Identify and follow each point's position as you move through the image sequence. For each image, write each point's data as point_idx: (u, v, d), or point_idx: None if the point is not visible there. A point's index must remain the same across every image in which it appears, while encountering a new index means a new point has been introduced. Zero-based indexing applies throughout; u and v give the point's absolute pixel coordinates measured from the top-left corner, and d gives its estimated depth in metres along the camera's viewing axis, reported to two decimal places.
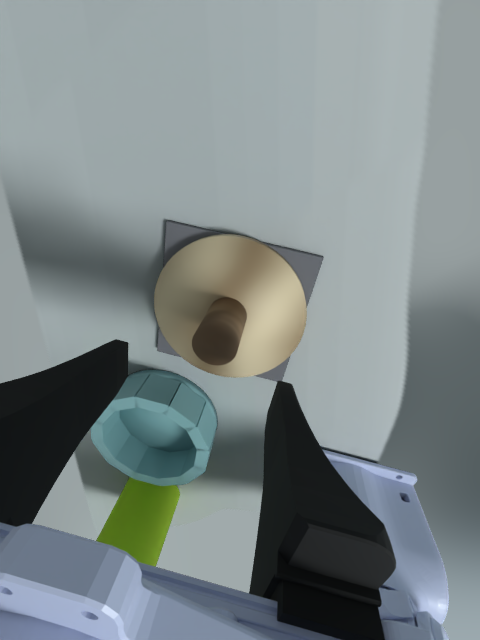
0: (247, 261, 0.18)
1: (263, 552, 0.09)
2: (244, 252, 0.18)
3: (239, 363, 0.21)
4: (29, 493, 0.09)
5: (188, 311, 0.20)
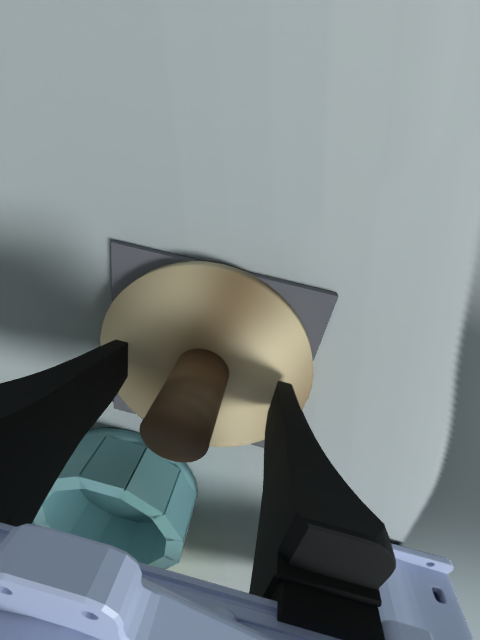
0: (227, 301, 0.12)
1: (263, 552, 0.09)
2: (222, 289, 0.12)
3: (221, 430, 0.16)
4: (29, 493, 0.09)
5: (148, 364, 0.14)
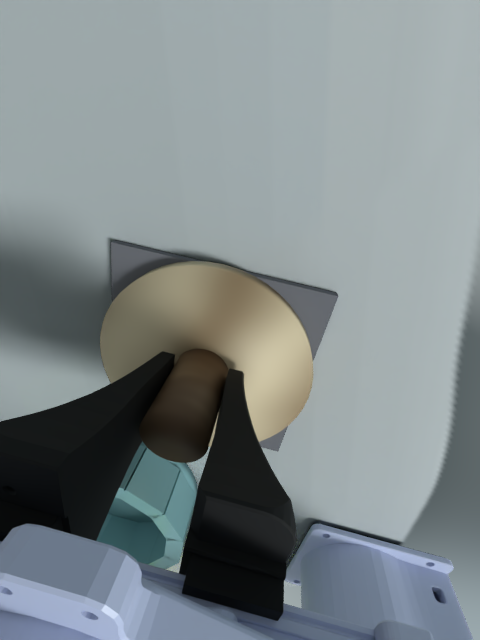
0: (227, 301, 0.12)
1: None
2: (222, 289, 0.12)
3: None
4: (97, 512, 0.09)
5: None
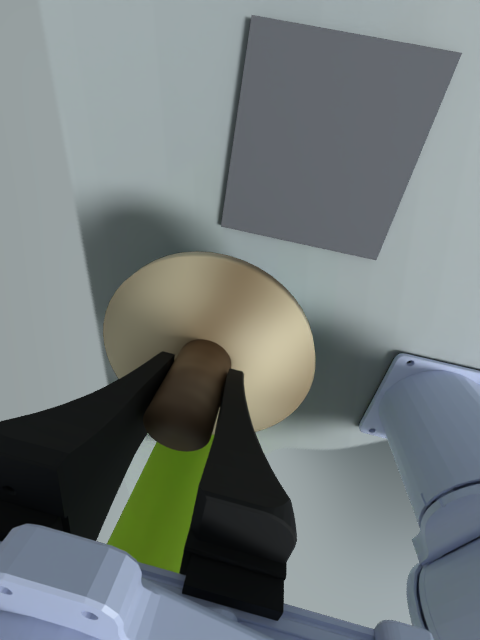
0: (231, 293, 0.12)
1: None
2: (226, 280, 0.12)
3: None
4: (97, 512, 0.09)
5: (151, 354, 0.15)
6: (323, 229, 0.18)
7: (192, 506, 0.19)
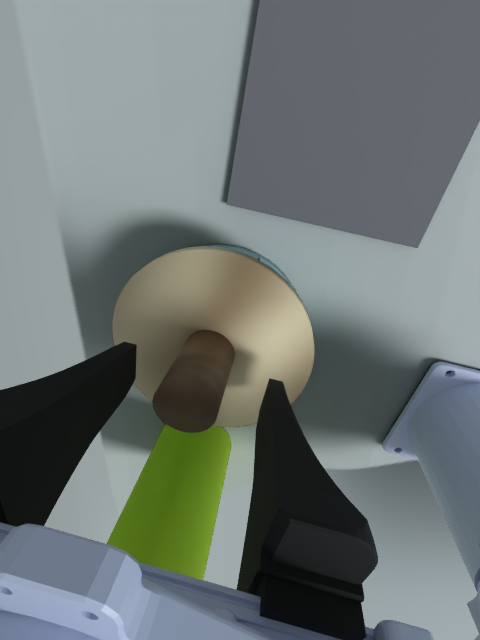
0: (235, 284, 0.13)
1: (250, 548, 0.09)
2: (231, 272, 0.13)
3: (224, 411, 0.17)
4: (41, 496, 0.09)
5: (157, 345, 0.15)
6: (353, 208, 0.14)
7: (187, 546, 0.16)
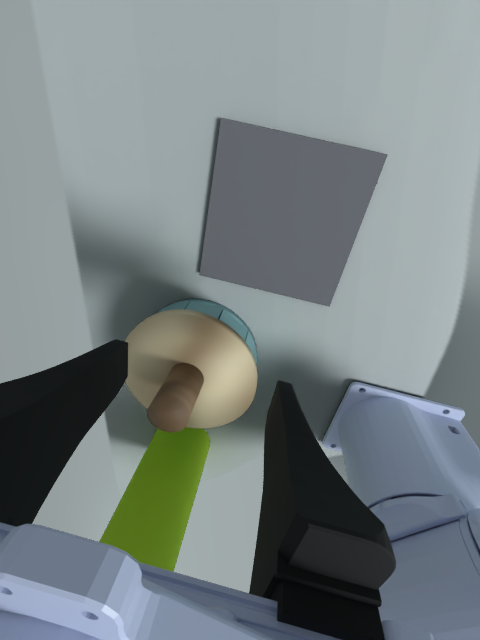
0: (202, 335, 0.20)
1: (263, 552, 0.09)
2: (199, 328, 0.20)
3: (199, 417, 0.23)
4: (29, 493, 0.09)
5: (151, 372, 0.22)
6: (284, 280, 0.21)
7: (172, 511, 0.23)
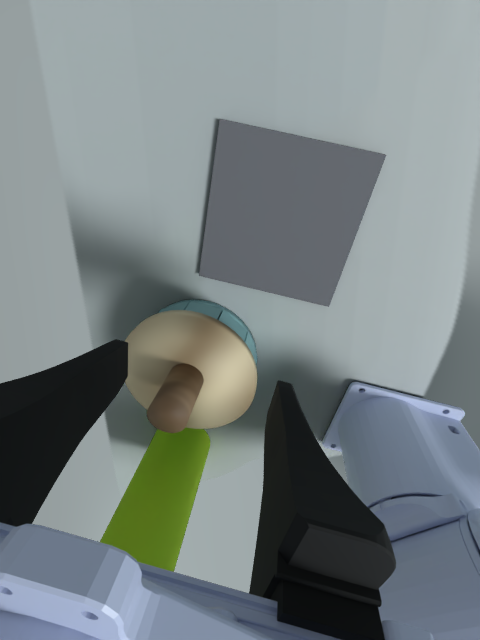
0: (201, 336, 0.20)
1: (263, 552, 0.09)
2: (198, 328, 0.20)
3: (199, 417, 0.23)
4: (29, 493, 0.09)
5: (151, 372, 0.22)
6: (283, 281, 0.21)
7: (172, 512, 0.23)
